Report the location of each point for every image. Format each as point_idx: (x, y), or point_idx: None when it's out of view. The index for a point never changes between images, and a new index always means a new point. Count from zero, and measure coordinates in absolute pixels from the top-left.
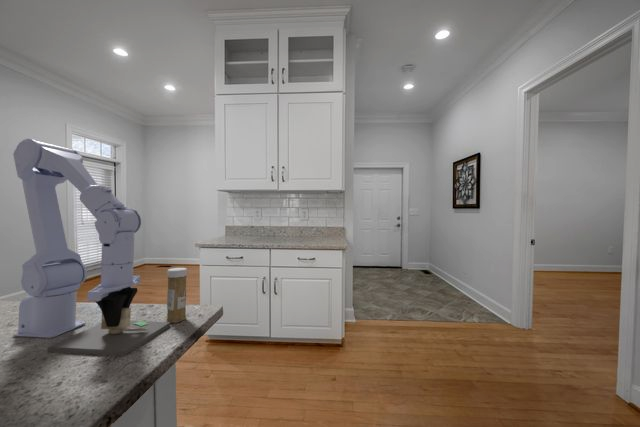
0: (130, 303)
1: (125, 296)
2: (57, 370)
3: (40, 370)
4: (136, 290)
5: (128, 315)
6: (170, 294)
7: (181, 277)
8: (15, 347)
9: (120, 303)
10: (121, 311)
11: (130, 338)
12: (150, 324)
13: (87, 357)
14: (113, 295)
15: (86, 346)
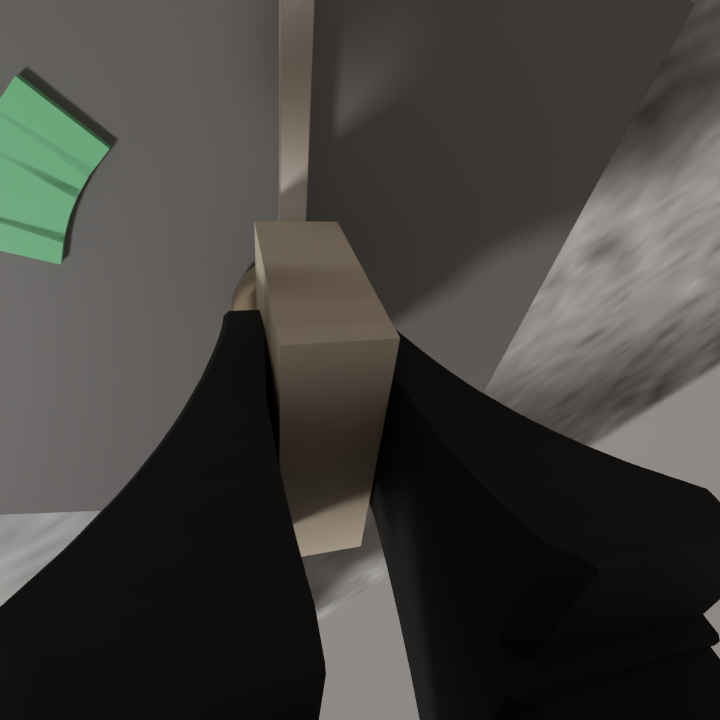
0: (182, 432)
1: (617, 530)
2: (637, 315)
3: (599, 379)
4: (104, 661)
5: (316, 287)
6: None
7: None
8: (342, 588)
9: (565, 454)
10: (388, 381)
11: (434, 90)
12: (4, 35)
13: (553, 269)
14: (658, 660)
15: (485, 343)
